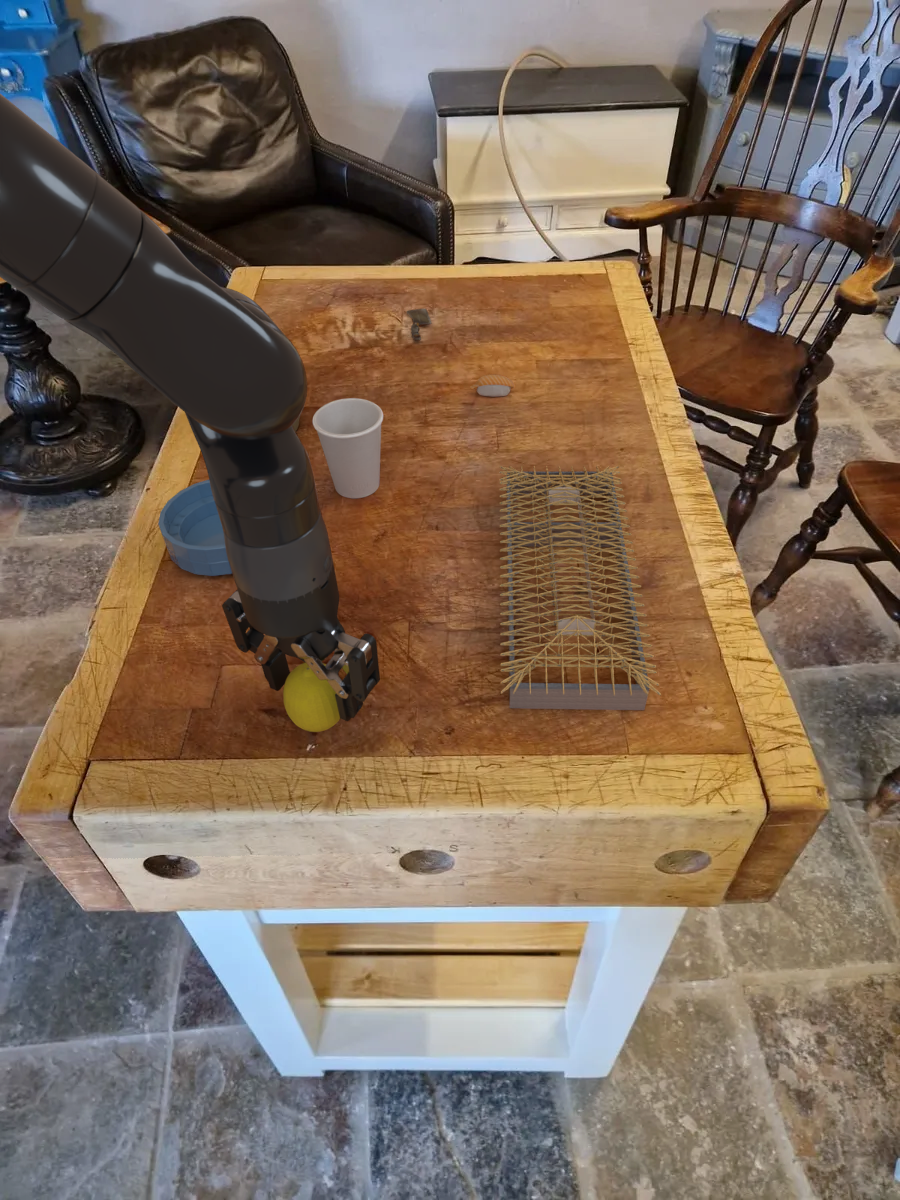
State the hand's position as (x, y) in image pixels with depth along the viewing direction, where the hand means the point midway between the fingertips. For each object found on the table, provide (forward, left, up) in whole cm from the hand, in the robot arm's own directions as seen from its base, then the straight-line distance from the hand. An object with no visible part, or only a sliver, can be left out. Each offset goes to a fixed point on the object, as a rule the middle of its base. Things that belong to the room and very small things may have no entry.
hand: (315, 697), depth 72 cm
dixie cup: (+33, +17, -4) cm, 37 cm away
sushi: (+60, +11, -4) cm, 61 cm away
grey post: (+74, +32, -3) cm, 80 cm away
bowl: (+17, +25, -4) cm, 31 cm away
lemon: (0, 0, -4) cm, 4 cm away
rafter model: (+27, -14, -4) cm, 31 cm away
